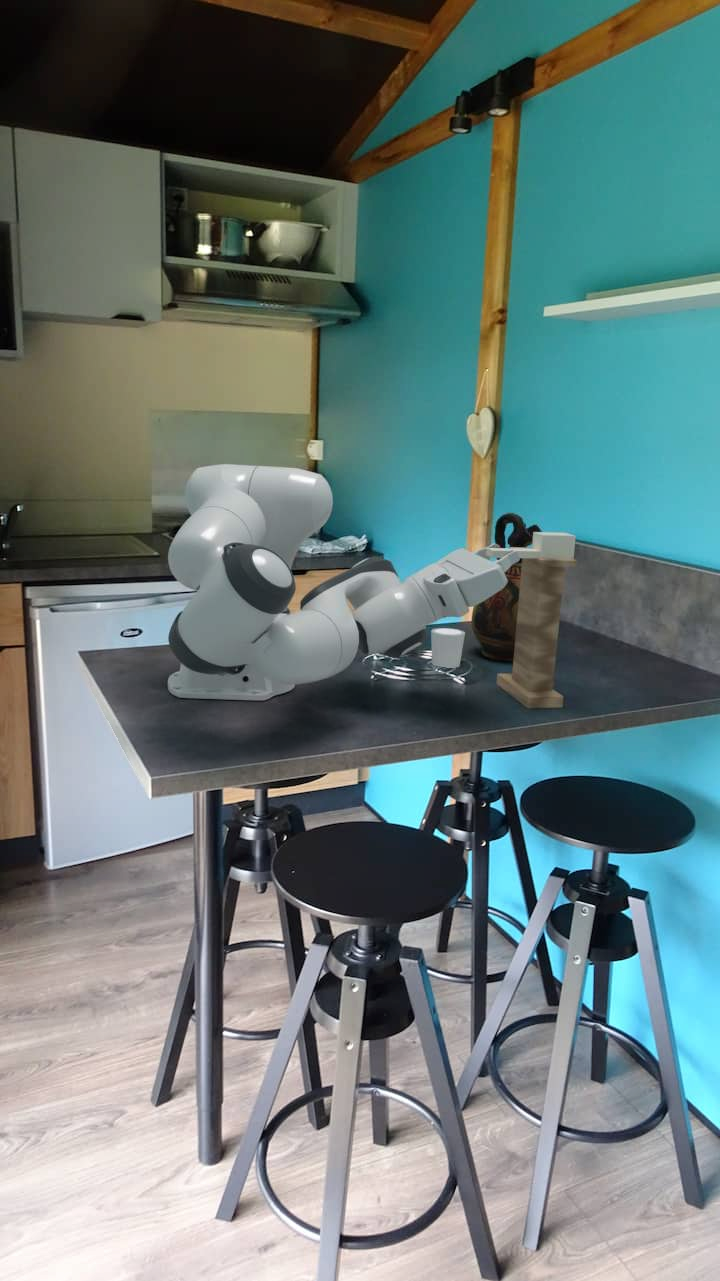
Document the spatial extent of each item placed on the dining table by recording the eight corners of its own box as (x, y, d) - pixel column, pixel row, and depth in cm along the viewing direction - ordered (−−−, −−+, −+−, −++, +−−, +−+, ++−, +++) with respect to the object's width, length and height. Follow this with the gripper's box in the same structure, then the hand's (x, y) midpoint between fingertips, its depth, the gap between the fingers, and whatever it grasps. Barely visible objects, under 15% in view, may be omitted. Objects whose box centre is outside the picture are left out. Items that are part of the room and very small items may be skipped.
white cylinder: (465, 669, 184) (468, 635, 182) (431, 668, 184) (433, 634, 182) (460, 661, 191) (462, 627, 189) (426, 660, 190) (429, 626, 189)
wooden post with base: (527, 708, 161) (541, 559, 155) (496, 683, 175) (508, 546, 169) (562, 707, 162) (577, 559, 156) (528, 683, 177) (541, 546, 170)
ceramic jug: (557, 660, 195) (571, 517, 188) (503, 668, 186) (515, 519, 179) (502, 642, 208) (513, 508, 201) (449, 649, 200) (459, 510, 193)
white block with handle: (493, 558, 154) (495, 534, 154) (484, 554, 158) (486, 531, 157) (573, 559, 158) (575, 535, 157) (563, 555, 162) (565, 532, 161)
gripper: (427, 594, 166) (493, 557, 168) (464, 619, 147) (539, 577, 148) (412, 564, 164) (479, 526, 166) (448, 585, 145) (523, 542, 146)
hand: (507, 550), depth 157 cm, fingers open, 7 cm apart
